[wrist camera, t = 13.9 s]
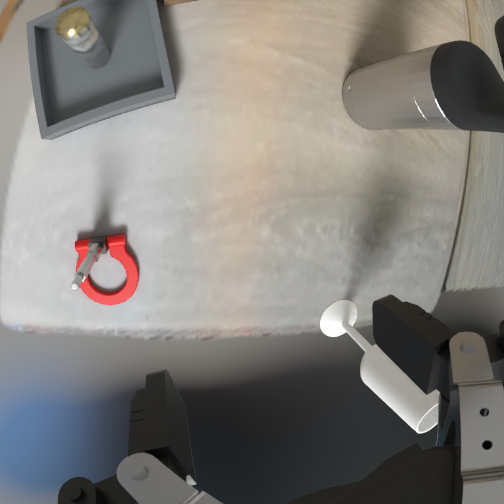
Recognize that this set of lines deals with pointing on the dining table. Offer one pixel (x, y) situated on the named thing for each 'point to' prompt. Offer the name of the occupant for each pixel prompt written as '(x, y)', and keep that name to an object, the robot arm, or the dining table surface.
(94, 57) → the pin
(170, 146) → the dining table surface
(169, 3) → the block
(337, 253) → the dining table surface
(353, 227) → the dining table surface
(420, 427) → the champagne flute
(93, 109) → the tray
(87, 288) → the tow hook
